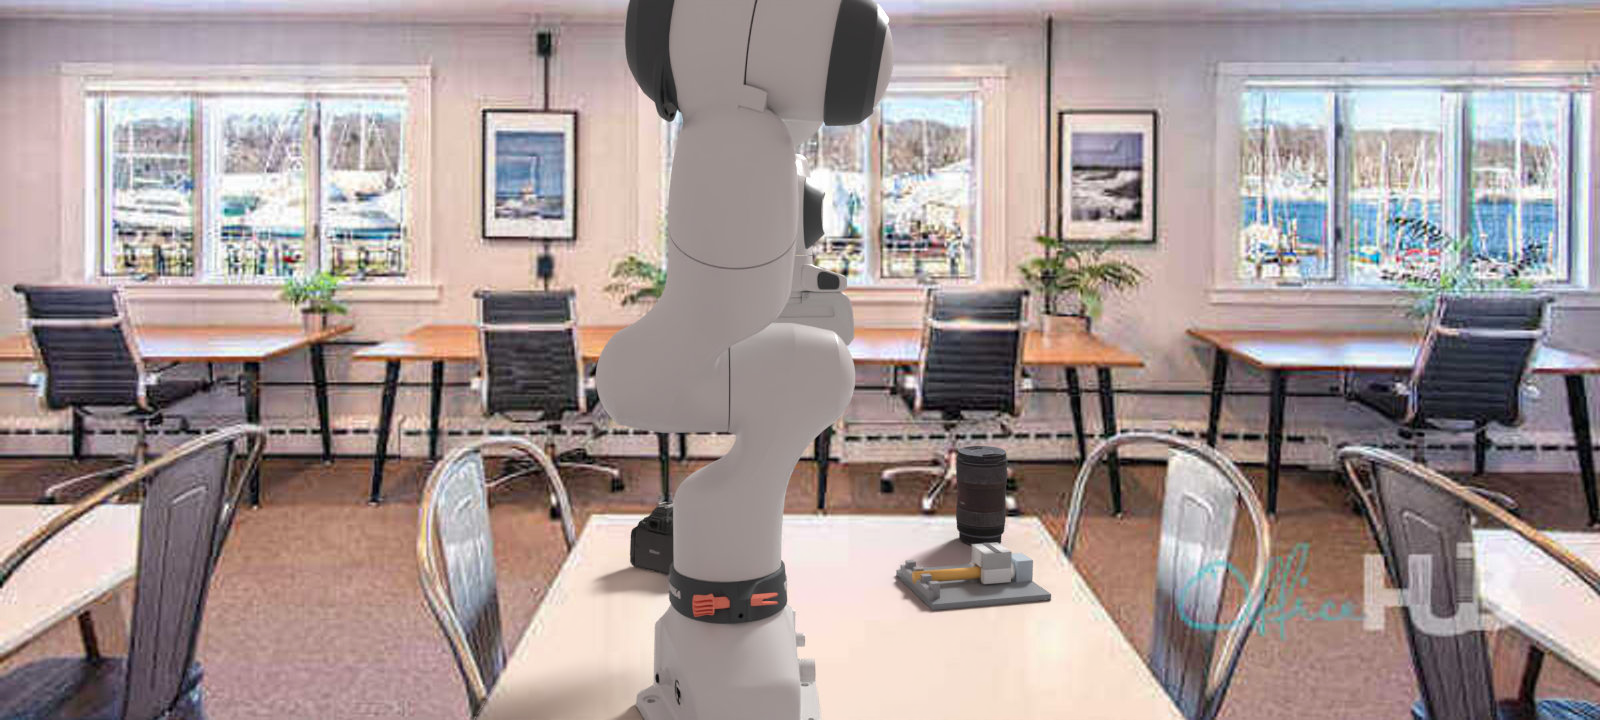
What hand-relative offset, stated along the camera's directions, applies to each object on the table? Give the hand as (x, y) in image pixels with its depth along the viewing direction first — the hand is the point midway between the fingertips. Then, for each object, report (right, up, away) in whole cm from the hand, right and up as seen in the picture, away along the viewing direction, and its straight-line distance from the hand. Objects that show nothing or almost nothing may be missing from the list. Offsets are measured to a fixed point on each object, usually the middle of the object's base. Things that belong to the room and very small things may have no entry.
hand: (779, 380), depth 127 cm
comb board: (+27, -29, +5) cm, 40 cm away
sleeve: (+30, -28, +5) cm, 41 cm away
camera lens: (+32, -27, +26) cm, 50 cm away
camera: (-15, -28, +11) cm, 34 cm away
